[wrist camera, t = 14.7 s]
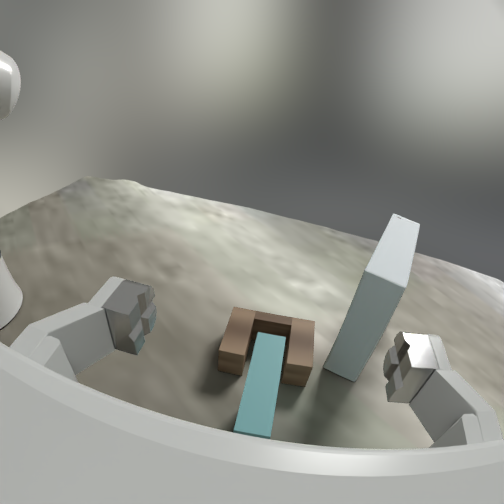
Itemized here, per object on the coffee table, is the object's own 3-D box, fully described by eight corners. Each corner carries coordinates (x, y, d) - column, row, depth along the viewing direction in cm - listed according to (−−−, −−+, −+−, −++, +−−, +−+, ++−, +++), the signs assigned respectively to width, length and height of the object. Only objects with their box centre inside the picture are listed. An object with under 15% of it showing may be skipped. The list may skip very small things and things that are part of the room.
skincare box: (358, 385, 36) (407, 288, 28) (321, 369, 39) (358, 268, 31) (390, 301, 52) (421, 222, 44) (364, 290, 55) (390, 210, 46)
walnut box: (305, 386, 36) (312, 367, 34) (217, 370, 37) (218, 349, 35) (308, 341, 43) (314, 321, 41) (232, 327, 44) (233, 306, 42)
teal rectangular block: (252, 483, 25) (270, 436, 19) (227, 478, 25) (233, 429, 19) (267, 406, 33) (285, 337, 27) (246, 402, 33) (257, 331, 27)
